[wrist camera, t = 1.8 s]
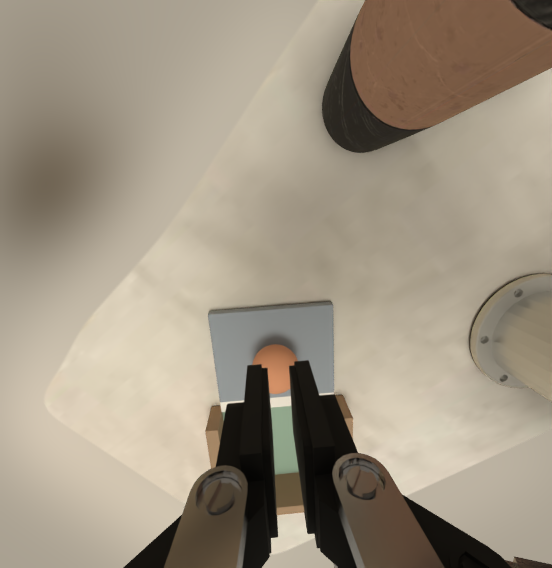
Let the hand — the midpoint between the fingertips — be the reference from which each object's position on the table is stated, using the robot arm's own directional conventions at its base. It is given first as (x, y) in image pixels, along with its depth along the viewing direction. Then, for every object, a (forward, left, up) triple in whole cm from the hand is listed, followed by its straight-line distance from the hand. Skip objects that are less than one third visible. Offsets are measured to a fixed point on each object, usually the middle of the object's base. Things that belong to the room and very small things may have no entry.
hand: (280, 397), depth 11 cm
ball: (0, +8, -14) cm, 16 cm away
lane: (0, +14, -17) cm, 22 cm away
